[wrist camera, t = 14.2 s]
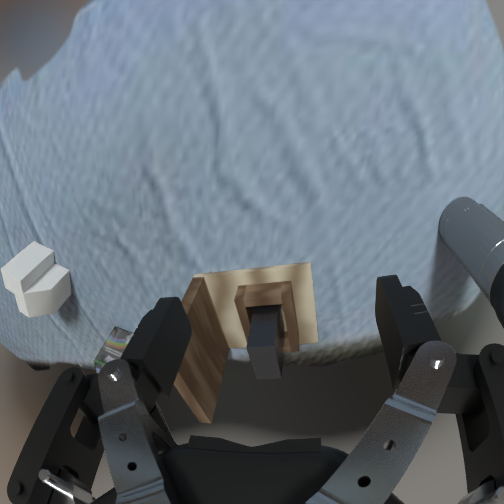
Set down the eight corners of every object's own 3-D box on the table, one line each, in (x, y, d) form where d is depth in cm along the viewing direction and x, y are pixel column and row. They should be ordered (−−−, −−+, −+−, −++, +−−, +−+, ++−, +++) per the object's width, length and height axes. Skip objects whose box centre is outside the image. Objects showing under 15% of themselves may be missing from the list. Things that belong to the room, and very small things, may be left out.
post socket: (310, 262, 47) (316, 351, 31) (318, 339, 56) (320, 422, 39) (194, 274, 51) (156, 355, 35) (221, 344, 60) (200, 422, 43)
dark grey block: (278, 293, 50) (274, 345, 40) (284, 327, 54) (281, 378, 43) (255, 295, 51) (246, 347, 40) (263, 328, 54) (256, 379, 44)
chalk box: (116, 348, 67) (92, 392, 54) (114, 324, 62) (85, 371, 49) (149, 361, 67) (128, 408, 54) (149, 338, 62) (124, 389, 49)
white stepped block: (34, 241, 53) (0, 268, 43) (68, 258, 54) (35, 290, 44) (38, 276, 59) (10, 305, 48) (71, 294, 59) (44, 326, 49)
